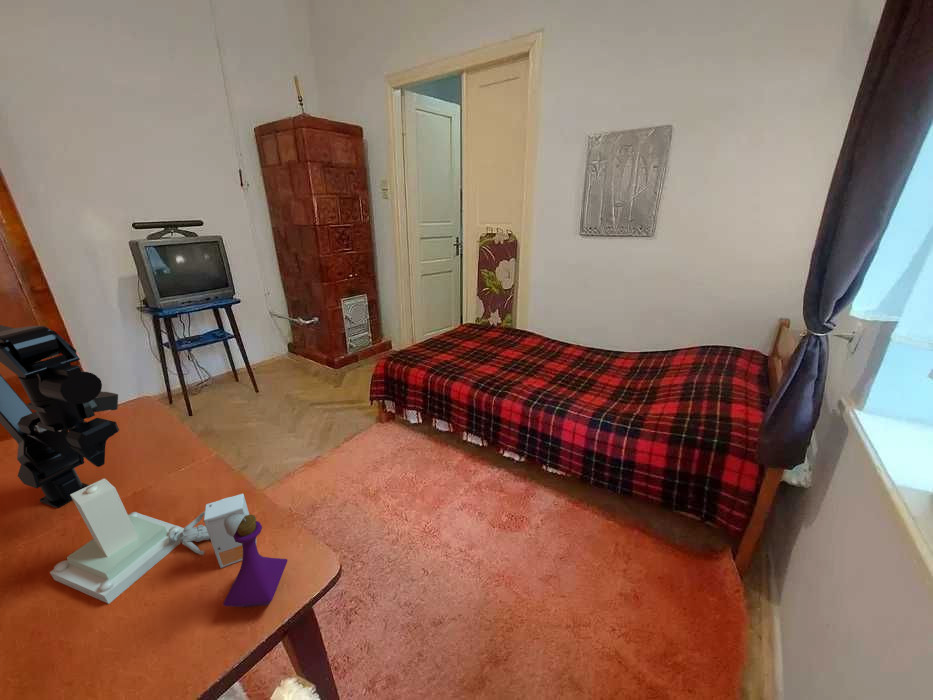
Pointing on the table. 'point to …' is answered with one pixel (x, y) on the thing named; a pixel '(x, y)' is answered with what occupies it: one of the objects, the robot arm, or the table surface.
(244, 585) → the perfume bottle
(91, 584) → the studded pedestal base
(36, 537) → the table surface
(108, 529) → the tall brick
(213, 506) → the skincare box
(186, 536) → the soldier figure
